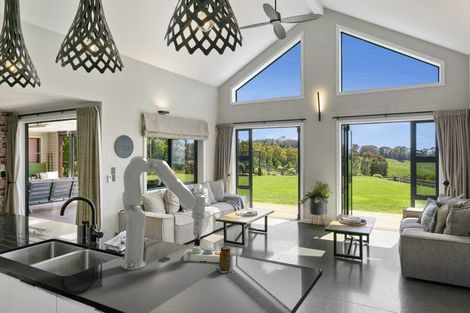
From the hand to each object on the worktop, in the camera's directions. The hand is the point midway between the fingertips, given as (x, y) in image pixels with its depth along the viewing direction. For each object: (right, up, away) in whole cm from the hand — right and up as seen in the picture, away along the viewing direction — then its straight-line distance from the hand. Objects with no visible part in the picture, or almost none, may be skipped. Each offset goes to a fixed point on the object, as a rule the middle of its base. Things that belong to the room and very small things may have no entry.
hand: (197, 245), depth 179 cm
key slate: (+6, -5, 0) cm, 8 cm away
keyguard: (+5, -8, 0) cm, 10 cm away
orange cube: (+13, -8, 0) cm, 15 cm away
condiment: (+17, -9, -17) cm, 26 cm away
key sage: (-1, -5, 0) cm, 5 cm away
